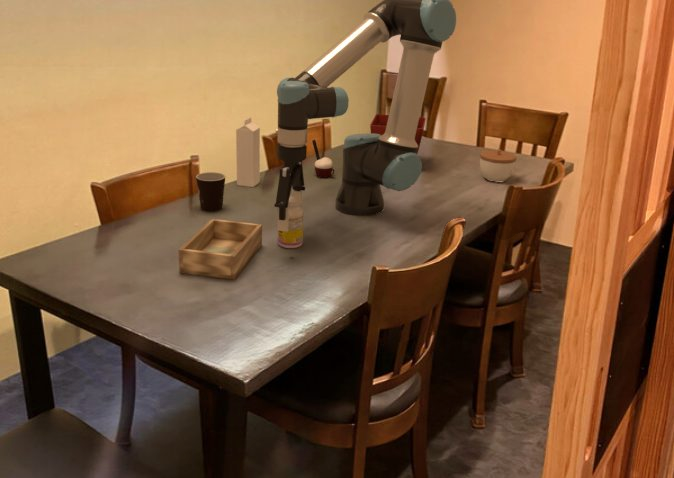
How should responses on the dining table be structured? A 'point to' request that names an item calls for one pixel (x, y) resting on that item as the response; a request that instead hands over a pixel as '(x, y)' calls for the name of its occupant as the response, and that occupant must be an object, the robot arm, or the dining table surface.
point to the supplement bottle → (293, 226)
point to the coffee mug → (211, 190)
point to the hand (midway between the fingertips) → (289, 222)
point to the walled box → (220, 249)
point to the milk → (248, 154)
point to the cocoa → (322, 164)
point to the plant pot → (381, 122)
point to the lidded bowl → (497, 165)
